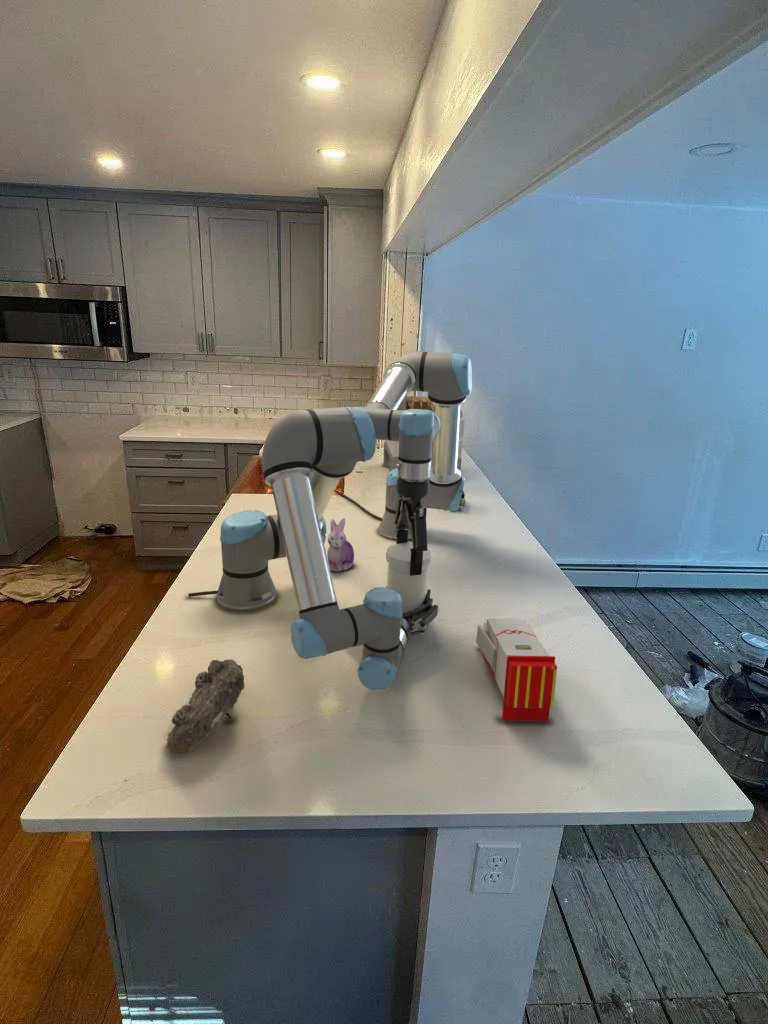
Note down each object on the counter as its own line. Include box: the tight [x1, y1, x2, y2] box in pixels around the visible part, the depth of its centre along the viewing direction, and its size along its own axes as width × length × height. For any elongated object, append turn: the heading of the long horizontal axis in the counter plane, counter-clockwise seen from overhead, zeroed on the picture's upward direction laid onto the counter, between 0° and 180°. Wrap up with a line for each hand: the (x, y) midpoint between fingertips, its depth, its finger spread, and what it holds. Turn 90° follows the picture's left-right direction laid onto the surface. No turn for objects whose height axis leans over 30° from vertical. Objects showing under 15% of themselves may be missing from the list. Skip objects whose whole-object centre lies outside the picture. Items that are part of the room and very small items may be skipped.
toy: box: [475, 618, 558, 722], centre depth 122 cm, size 12×13×30 cm
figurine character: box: [457, 490, 466, 511], centre depth 229 cm, size 7×8×15 cm
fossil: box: [166, 658, 245, 754], centre depth 106 cm, size 22×10×15 cm
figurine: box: [326, 517, 355, 572], centre depth 171 cm, size 9×10×15 cm
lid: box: [385, 542, 432, 570], centre depth 138 cm, size 11×11×2 cm
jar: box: [386, 563, 428, 633], centre depth 141 cm, size 10×10×18 cm
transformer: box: [383, 393, 465, 472], centre depth 268 cm, size 34×33×41 cm
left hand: (408, 591), depth 146 cm, fingers closed on jar, 10 cm apart
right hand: (408, 564), depth 138 cm, fingers closed on lid, 11 cm apart
